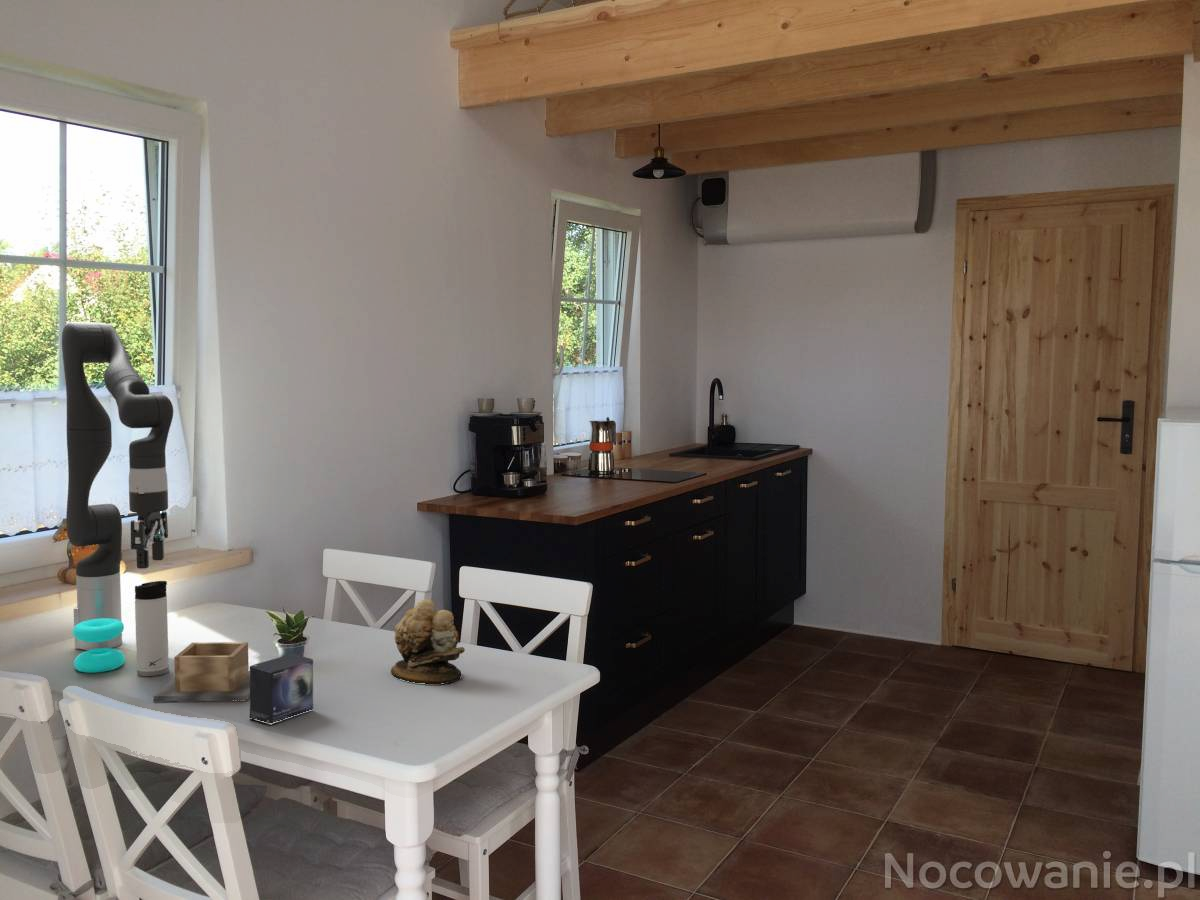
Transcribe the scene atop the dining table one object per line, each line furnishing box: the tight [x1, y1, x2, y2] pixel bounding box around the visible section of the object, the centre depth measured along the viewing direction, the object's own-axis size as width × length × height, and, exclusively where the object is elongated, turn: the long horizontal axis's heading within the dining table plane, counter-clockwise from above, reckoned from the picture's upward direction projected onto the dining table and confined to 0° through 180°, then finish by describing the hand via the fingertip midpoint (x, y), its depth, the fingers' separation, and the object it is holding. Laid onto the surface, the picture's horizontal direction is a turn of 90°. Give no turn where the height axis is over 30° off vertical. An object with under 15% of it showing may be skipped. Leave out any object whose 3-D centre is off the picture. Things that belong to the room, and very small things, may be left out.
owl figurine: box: [390, 598, 465, 684], centre depth 218 cm, size 18×12×17 cm, turn 62°
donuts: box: [72, 618, 126, 674], centre depth 222 cm, size 10×10×10 cm
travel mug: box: [134, 580, 170, 677], centre depth 218 cm, size 6×7×20 cm
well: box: [152, 641, 250, 702], centre depth 208 cm, size 18×16×8 cm
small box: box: [248, 653, 314, 723], centre depth 193 cm, size 11×6×10 cm, turn 148°
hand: (150, 564), depth 217 cm, fingers open, 8 cm apart
